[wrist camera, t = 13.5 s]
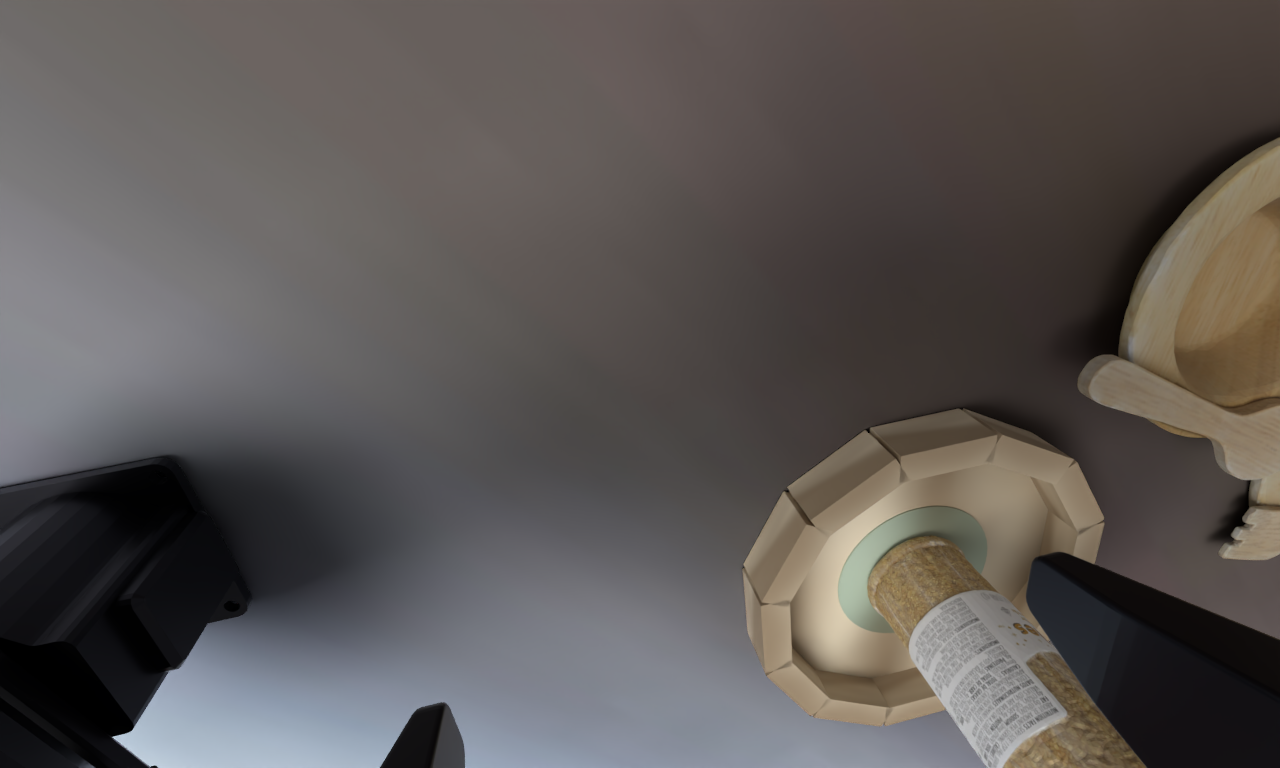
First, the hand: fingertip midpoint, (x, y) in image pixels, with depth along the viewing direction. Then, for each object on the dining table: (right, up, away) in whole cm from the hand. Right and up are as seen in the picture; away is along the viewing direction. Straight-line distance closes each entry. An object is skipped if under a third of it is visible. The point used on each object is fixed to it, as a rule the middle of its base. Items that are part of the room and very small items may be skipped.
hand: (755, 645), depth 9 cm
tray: (+10, -4, +18) cm, 21 cm away
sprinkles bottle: (+10, -4, +18) cm, 21 cm away
